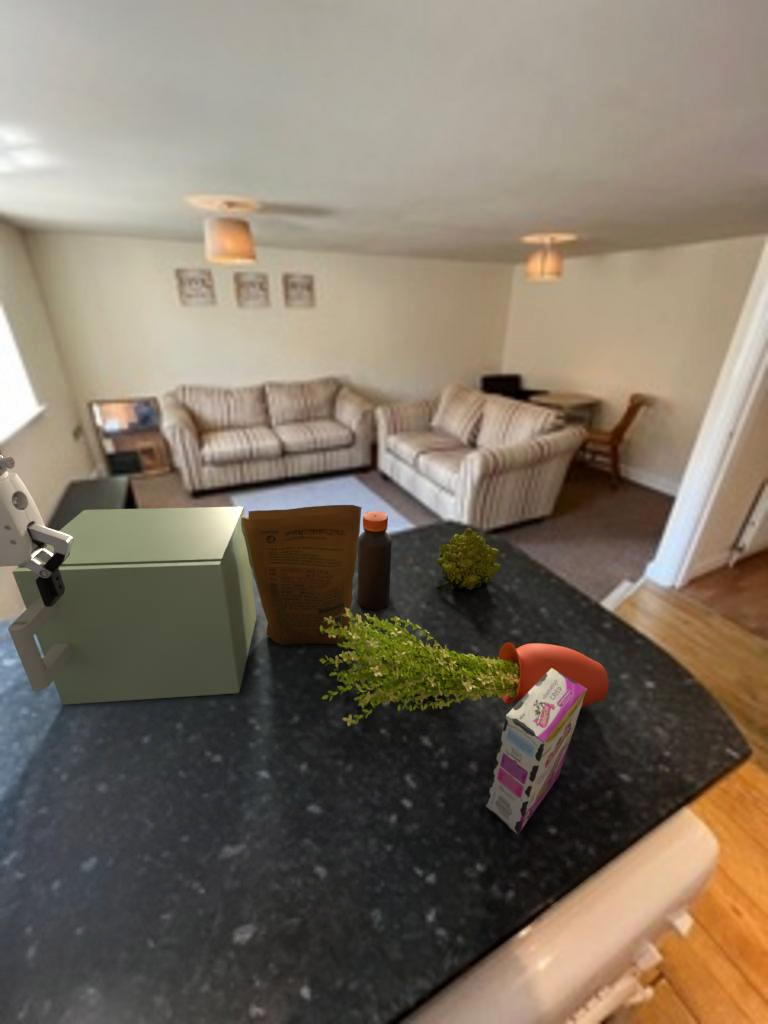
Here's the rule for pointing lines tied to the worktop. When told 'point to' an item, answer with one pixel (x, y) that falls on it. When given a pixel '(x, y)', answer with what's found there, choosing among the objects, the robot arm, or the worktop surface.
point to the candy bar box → (534, 748)
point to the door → (129, 632)
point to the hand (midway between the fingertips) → (12, 602)
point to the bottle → (374, 561)
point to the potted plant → (449, 668)
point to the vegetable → (467, 561)
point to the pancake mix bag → (303, 568)
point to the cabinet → (172, 551)
